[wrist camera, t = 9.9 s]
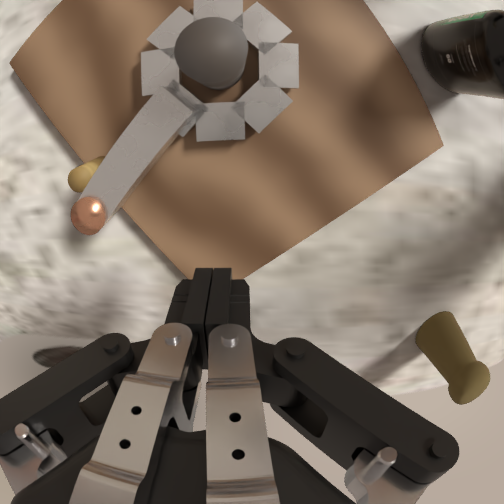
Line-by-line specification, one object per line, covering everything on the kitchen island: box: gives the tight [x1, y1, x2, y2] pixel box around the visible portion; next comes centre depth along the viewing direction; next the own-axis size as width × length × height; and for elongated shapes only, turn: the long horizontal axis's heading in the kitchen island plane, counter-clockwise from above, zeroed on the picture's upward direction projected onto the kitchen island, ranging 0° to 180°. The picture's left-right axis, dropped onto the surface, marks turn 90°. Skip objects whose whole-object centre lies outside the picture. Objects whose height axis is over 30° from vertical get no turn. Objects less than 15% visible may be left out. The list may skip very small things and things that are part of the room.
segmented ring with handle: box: [71, 0, 299, 235], centre depth 16 cm, size 18×10×4 cm, turn 136°
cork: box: [416, 311, 490, 405], centre depth 27 cm, size 6×6×11 cm
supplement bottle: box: [421, 10, 504, 99], centre depth 12 cm, size 7×7×12 cm
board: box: [10, 0, 444, 279], centre depth 15 cm, size 24×28×9 cm
